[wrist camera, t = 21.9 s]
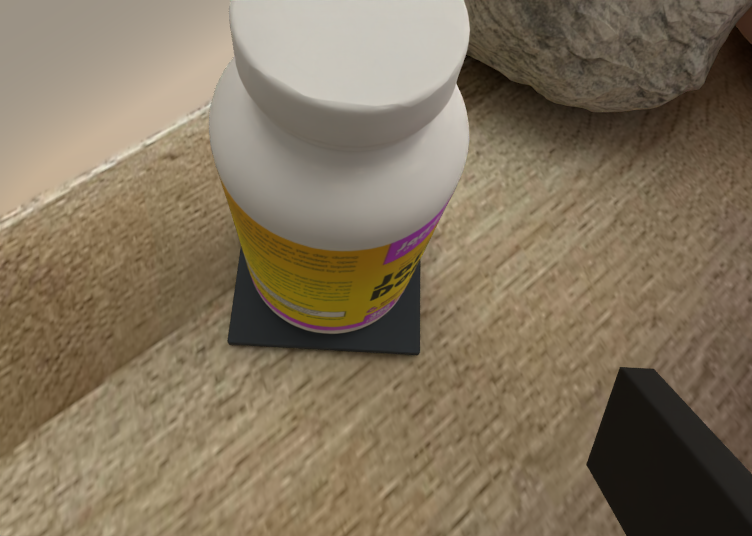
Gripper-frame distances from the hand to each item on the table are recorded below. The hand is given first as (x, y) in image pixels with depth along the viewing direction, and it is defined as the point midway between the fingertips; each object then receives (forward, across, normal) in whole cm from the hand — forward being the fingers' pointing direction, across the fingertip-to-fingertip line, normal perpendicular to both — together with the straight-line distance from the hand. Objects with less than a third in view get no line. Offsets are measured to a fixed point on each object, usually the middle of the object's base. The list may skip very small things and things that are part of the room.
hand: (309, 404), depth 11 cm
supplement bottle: (+11, 0, -2) cm, 12 cm away
